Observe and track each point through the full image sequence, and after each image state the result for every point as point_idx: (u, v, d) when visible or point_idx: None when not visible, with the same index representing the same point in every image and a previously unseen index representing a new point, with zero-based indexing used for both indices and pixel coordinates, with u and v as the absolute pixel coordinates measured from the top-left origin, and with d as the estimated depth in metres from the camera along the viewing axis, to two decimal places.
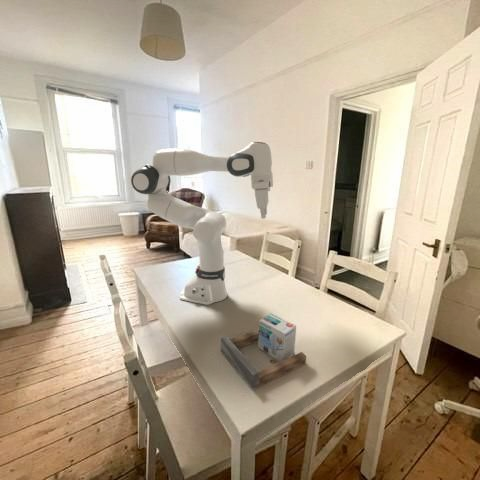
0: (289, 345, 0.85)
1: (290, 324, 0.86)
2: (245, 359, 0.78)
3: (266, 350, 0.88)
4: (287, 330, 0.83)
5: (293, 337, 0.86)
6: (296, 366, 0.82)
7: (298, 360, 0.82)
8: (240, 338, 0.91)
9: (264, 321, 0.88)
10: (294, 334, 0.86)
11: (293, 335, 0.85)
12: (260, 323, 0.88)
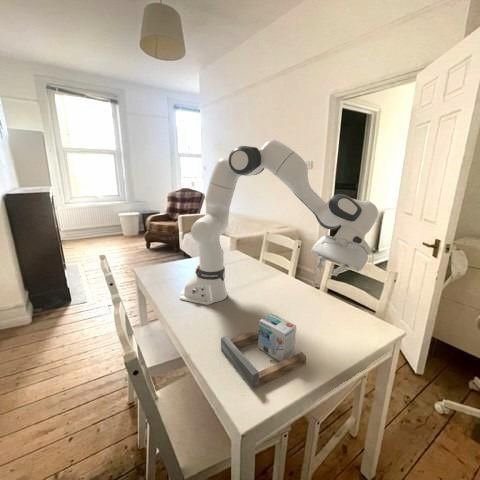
0: (289, 345, 0.85)
1: (290, 324, 0.86)
2: (245, 359, 0.78)
3: (266, 350, 0.88)
4: (287, 330, 0.83)
5: (293, 337, 0.86)
6: (296, 366, 0.82)
7: (298, 360, 0.82)
8: (240, 338, 0.91)
9: (264, 321, 0.88)
10: (294, 334, 0.86)
11: (293, 335, 0.85)
12: (260, 323, 0.88)
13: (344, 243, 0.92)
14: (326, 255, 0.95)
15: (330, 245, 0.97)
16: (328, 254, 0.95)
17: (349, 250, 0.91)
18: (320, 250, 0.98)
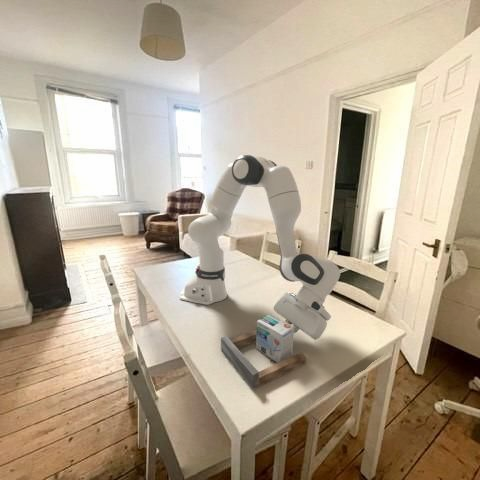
0: (286, 347, 0.84)
1: (288, 325, 0.85)
2: (245, 359, 0.78)
3: (264, 351, 0.88)
4: (285, 331, 0.82)
5: (291, 338, 0.85)
6: (296, 366, 0.82)
7: (298, 360, 0.82)
8: (240, 338, 0.91)
9: (262, 322, 0.87)
10: (292, 335, 0.85)
11: (291, 336, 0.85)
12: (258, 324, 0.88)
13: (303, 307, 0.89)
14: (286, 317, 0.92)
15: (291, 305, 0.94)
16: (288, 316, 0.91)
17: (307, 316, 0.87)
18: (281, 310, 0.95)
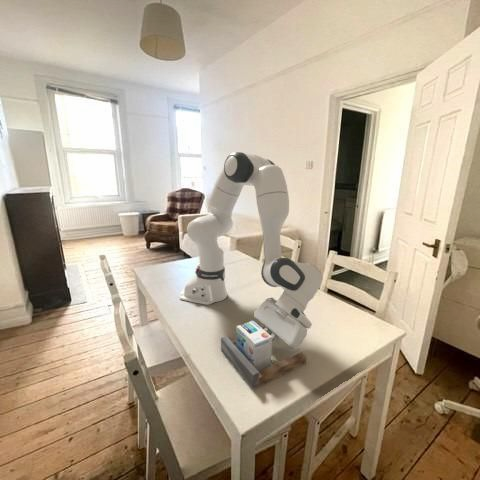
0: (261, 357, 0.79)
1: (266, 334, 0.80)
2: (245, 359, 0.78)
3: None
4: (260, 340, 0.78)
5: (268, 349, 0.80)
6: (296, 366, 0.82)
7: (298, 360, 0.82)
8: None
9: (241, 328, 0.84)
10: (269, 346, 0.80)
11: (268, 347, 0.80)
12: (237, 329, 0.85)
13: (283, 314, 0.85)
14: (266, 325, 0.87)
15: (272, 312, 0.89)
16: (268, 323, 0.87)
17: (287, 323, 0.83)
18: (261, 317, 0.90)
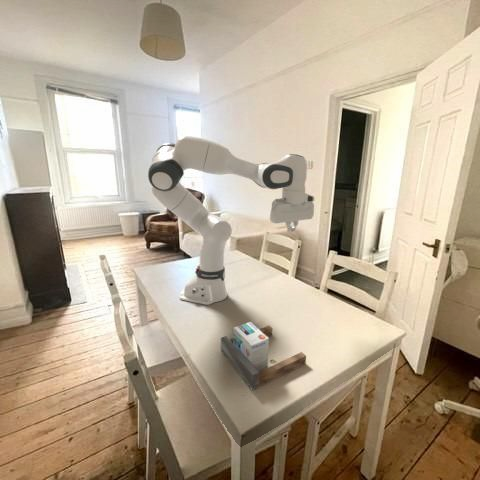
0: (258, 359, 0.79)
1: (263, 336, 0.80)
2: (245, 359, 0.78)
3: None
4: (256, 342, 0.77)
5: (265, 351, 0.79)
6: (296, 366, 0.82)
7: (298, 360, 0.82)
8: None
9: (238, 329, 0.83)
10: (266, 347, 0.79)
11: (264, 348, 0.79)
12: (234, 330, 0.84)
13: (300, 204, 1.05)
14: (290, 220, 1.05)
15: (288, 209, 1.03)
16: (292, 218, 1.05)
17: (303, 208, 1.07)
18: (284, 218, 1.03)
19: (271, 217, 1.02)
